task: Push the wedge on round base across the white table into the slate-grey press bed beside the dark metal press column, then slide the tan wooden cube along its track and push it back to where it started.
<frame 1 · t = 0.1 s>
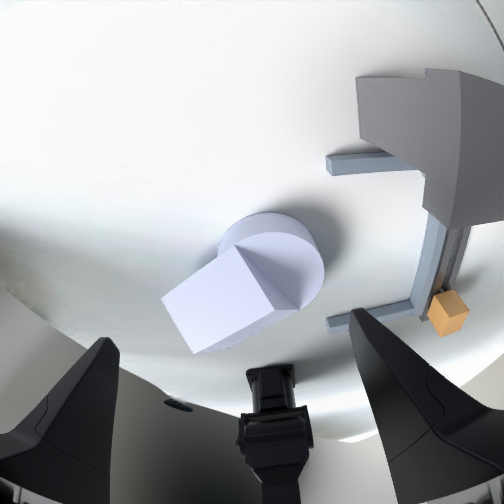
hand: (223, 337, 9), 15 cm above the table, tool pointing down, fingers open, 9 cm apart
wedge on round base: (249, 267, 26), on the table
tan wooden cube: (446, 310, 27), point 3 cm above the table, slide at 0.0 cm
press bed: (380, 248, 25), on the table
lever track: (445, 264, 27), on the table
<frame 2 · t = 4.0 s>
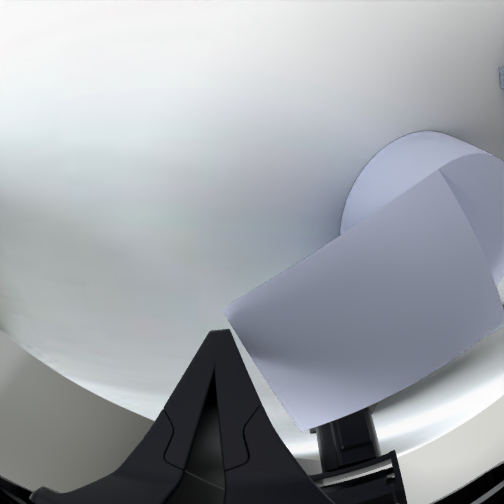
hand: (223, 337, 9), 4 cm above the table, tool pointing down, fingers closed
wedge on round base: (390, 241, 12), on the table, touching gripper
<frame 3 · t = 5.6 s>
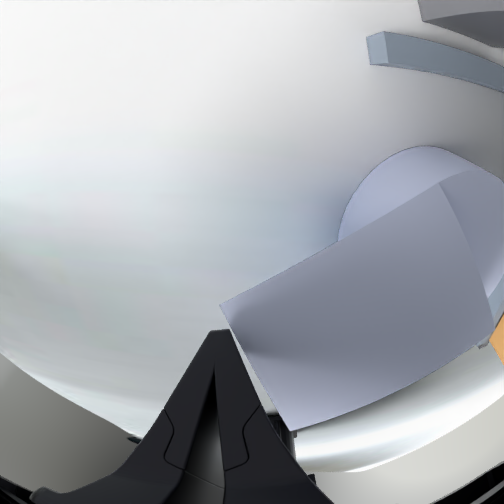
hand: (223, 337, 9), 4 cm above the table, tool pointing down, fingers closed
wedge on round base: (385, 250, 13), on the table, touching gripper
press bed: (454, 237, 12), on the table
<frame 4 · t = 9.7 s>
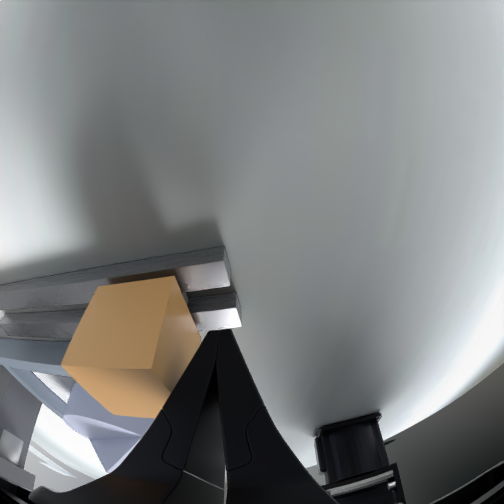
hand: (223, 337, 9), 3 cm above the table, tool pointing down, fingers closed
wedge on round base: (136, 413, 21), on the table
tan wooden cube: (141, 341, 10), point 3 cm above the table, slide at 0.1 cm, touching gripper
press bed: (108, 393, 18), on the table
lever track: (77, 300, 12), on the table
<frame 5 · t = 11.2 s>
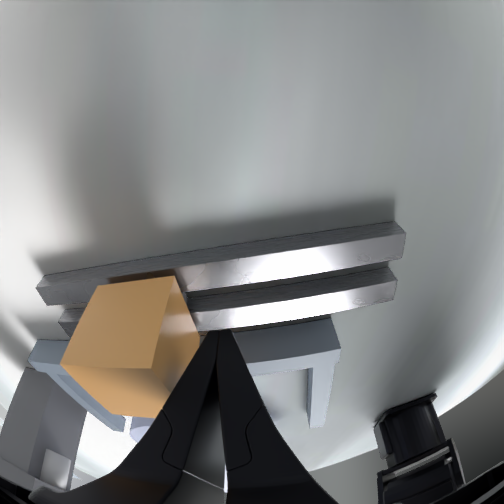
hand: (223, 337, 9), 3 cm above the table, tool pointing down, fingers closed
wedge on round base: (208, 415, 20), on the table
tan wooden cube: (141, 340, 10), point 3 cm above the table, slide at 7.2 cm, touching gripper
press bed: (187, 396, 18), on the table
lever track: (202, 285, 12), on the table
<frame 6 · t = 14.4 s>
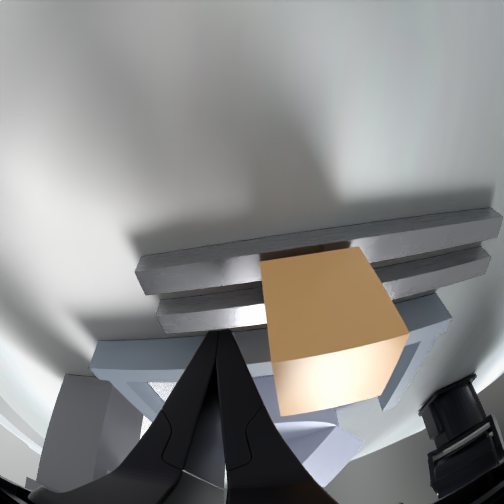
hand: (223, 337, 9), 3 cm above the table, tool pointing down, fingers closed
wedge on round base: (283, 409, 20), on the table
tan wooden cube: (320, 321, 9), point 3 cm above the table, slide at 7.0 cm, touching gripper
press bed: (276, 389, 17), on the table
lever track: (351, 262, 11), on the table
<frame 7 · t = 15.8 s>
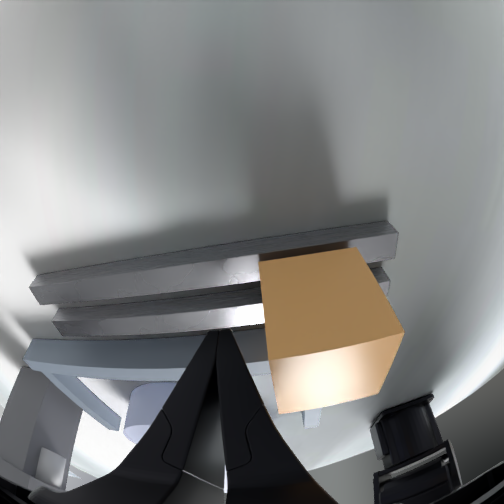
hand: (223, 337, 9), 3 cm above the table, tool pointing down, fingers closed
wedge on round base: (202, 414, 20), on the table
tan wooden cube: (318, 320, 9), point 3 cm above the table, slide at 0.2 cm, touching gripper
press bed: (181, 395, 17), on the table
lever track: (192, 285, 12), on the table
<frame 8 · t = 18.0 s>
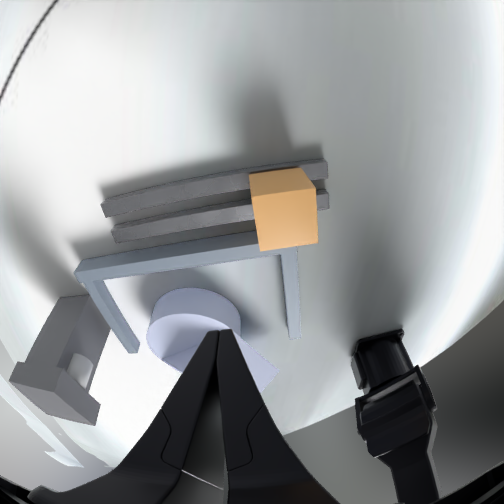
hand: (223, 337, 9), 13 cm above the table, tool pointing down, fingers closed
wedge on round base: (209, 330, 28), on the table
tan wooden cube: (280, 203, 18), point 3 cm above the table, slide at 0.2 cm
press bed: (194, 303, 26), on the table
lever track: (211, 198, 20), on the table
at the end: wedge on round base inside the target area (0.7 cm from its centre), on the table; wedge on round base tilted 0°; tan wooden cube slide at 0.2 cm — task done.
